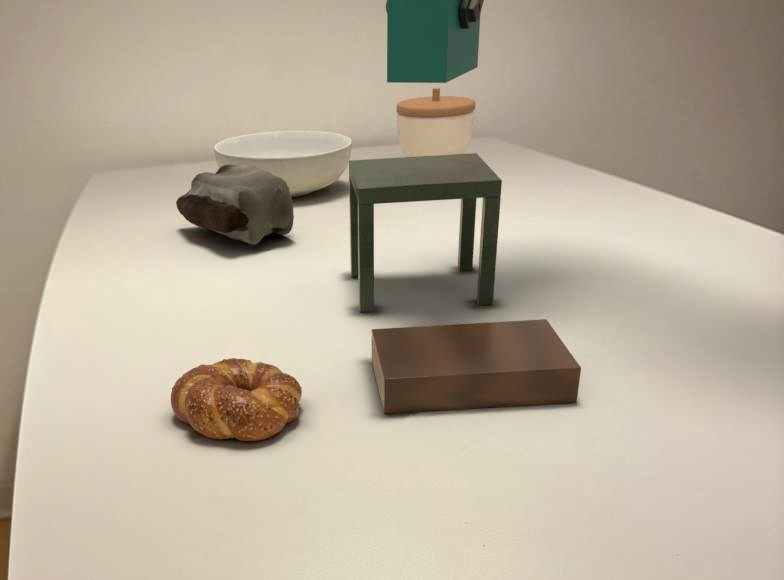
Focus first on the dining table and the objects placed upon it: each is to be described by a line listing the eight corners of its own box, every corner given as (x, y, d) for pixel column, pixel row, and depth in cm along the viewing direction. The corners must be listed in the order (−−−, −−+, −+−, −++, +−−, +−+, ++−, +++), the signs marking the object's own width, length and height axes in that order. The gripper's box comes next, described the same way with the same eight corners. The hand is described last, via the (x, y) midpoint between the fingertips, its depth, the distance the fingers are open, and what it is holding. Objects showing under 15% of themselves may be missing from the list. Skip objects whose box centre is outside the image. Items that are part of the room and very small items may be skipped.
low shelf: (543, 351, 88) (546, 318, 86) (576, 402, 78) (581, 367, 76) (371, 361, 88) (371, 329, 86) (384, 413, 78) (384, 379, 76)
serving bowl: (224, 213, 137) (219, 160, 133) (213, 183, 153) (208, 136, 149) (364, 200, 139) (364, 148, 135) (339, 172, 155) (338, 126, 151)
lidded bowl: (478, 169, 152) (483, 91, 146) (400, 174, 152) (401, 96, 146) (464, 154, 162) (468, 80, 156) (391, 159, 162) (392, 85, 156)
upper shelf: (470, 266, 110) (476, 152, 103) (493, 304, 99) (502, 180, 92) (350, 273, 110) (348, 160, 103) (359, 312, 99) (358, 188, 92)
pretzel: (322, 435, 75) (320, 391, 73) (188, 457, 73) (182, 412, 71) (285, 381, 85) (282, 341, 83) (165, 399, 83) (159, 358, 81)
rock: (166, 230, 130) (159, 167, 125) (238, 216, 135) (233, 155, 130) (227, 259, 117) (221, 191, 113) (304, 243, 122) (302, 177, 117)
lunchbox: (421, 67, 91) (424, -34, 87) (478, 67, 89) (484, -37, 85) (385, 82, 84) (385, -27, 79) (446, 83, 82) (451, -30, 77)
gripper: (389, -184, 83) (341, -10, 82) (553, -199, 78) (504, -14, 77) (408, -108, 90) (364, 54, 89) (559, -117, 85) (514, 53, 84)
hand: (429, 21), depth 83 cm, fingers closed on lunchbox, 5 cm apart
